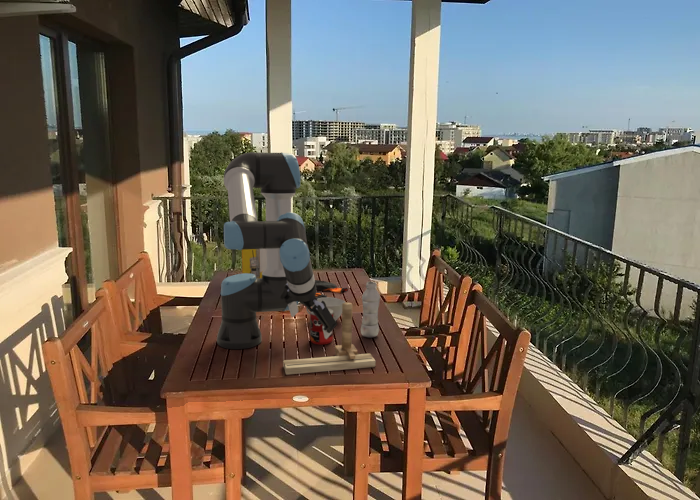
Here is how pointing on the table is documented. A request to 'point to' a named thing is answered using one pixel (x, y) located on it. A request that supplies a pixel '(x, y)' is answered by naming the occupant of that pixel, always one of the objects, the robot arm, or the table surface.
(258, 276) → the packaging box
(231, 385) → the table surface
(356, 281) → the table surface
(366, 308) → the plastic bottle
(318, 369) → the board
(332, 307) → the teacup
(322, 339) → the canned food
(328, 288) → the pair of gloves
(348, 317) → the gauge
